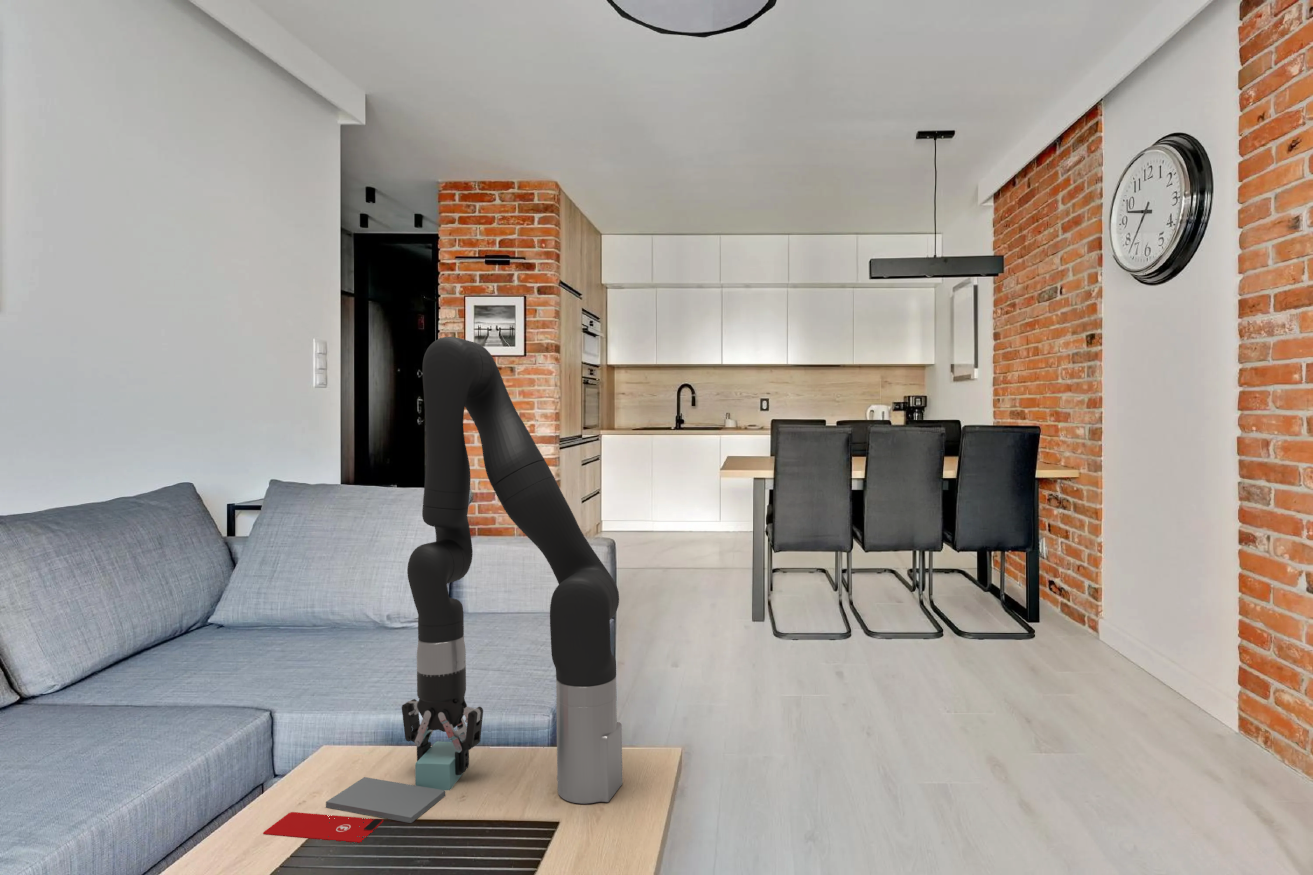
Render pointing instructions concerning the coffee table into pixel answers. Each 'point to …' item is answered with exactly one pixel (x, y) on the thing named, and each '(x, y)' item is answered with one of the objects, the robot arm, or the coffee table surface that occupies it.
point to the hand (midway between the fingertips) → (442, 769)
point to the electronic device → (323, 827)
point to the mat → (386, 799)
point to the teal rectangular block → (437, 767)
